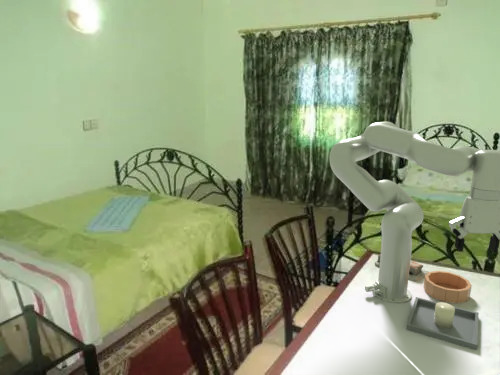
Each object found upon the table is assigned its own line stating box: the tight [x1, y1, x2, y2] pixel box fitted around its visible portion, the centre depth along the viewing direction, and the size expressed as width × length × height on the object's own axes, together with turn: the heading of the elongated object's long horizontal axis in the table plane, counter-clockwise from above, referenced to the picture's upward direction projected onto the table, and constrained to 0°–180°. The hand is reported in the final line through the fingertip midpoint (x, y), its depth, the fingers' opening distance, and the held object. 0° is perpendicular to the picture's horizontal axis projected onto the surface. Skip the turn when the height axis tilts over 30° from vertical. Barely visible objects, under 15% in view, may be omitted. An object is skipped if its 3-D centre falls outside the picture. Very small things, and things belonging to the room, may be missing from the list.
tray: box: [406, 296, 479, 351], centre depth 116 cm, size 18×18×2 cm
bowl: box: [423, 270, 473, 304], centre depth 134 cm, size 14×14×5 cm
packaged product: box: [374, 253, 429, 282], centre depth 152 cm, size 18×5×10 cm
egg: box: [433, 301, 455, 328], centre depth 116 cm, size 5×5×6 cm
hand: (475, 250), depth 113 cm, fingers open, 9 cm apart
